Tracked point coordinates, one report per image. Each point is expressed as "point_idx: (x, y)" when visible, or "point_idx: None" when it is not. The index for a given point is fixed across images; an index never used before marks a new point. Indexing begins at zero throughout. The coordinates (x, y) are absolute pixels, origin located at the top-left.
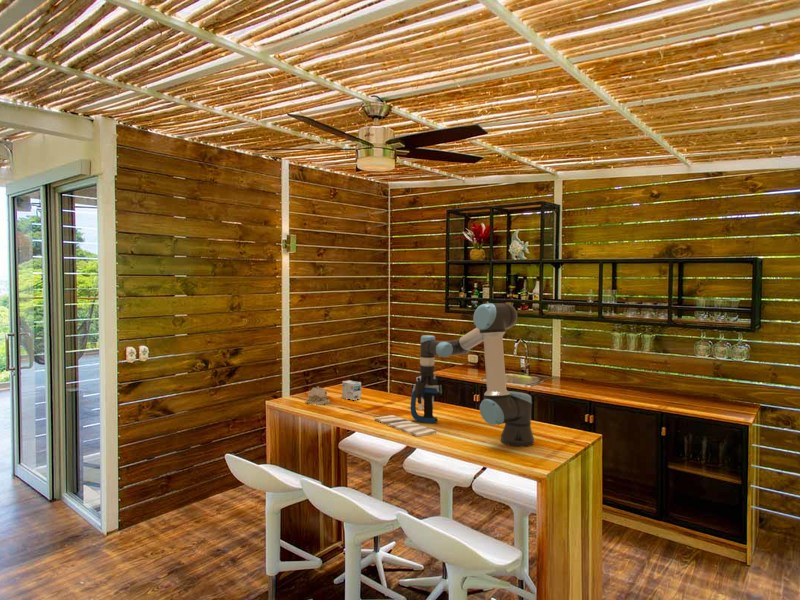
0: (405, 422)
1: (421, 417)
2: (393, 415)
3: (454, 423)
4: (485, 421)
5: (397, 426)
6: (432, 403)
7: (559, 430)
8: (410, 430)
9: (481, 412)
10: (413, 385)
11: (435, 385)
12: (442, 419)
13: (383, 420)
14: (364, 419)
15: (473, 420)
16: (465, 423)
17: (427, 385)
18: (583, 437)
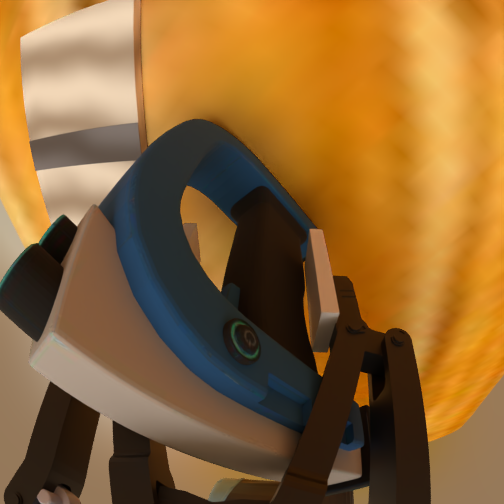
0: (110, 188)
1: (223, 203)
2: (128, 7)
3: (366, 296)
4: (219, 480)
5: None
6: (308, 295)
7: (458, 414)
8: None
9: (209, 496)
10: (26, 329)
11: (333, 475)
12: (390, 214)
13: (31, 101)
14: (8, 15)
15: (459, 302)
16: (399, 316)
17: (226, 466)
18: (430, 437)
